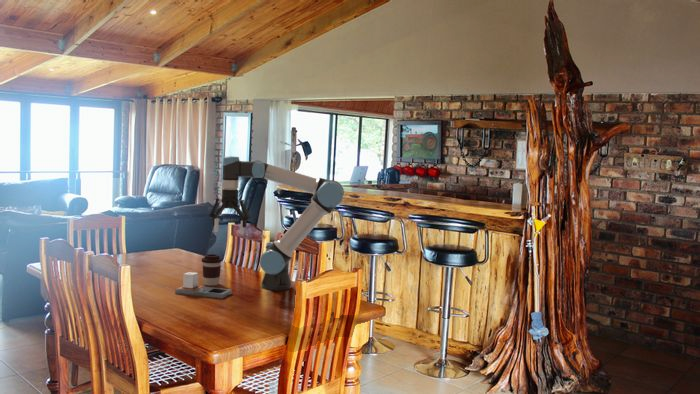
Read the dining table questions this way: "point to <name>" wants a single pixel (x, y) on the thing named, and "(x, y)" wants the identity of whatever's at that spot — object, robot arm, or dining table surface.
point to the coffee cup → (211, 269)
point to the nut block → (190, 280)
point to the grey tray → (205, 292)
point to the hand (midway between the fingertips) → (229, 233)
